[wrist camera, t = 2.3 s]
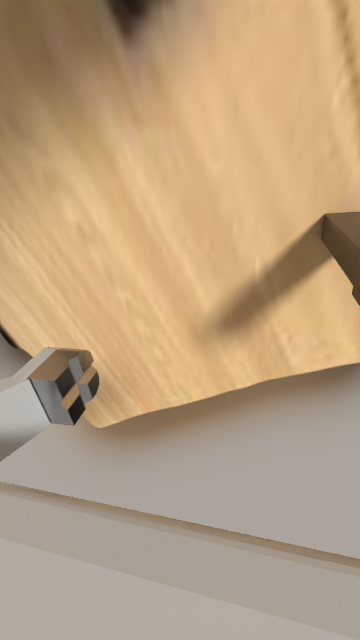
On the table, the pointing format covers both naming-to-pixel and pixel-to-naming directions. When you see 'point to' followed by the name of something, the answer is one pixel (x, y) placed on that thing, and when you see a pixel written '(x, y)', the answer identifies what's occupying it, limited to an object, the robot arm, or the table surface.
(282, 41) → the table surface
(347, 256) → the tall dark grey post
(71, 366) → the robot arm
